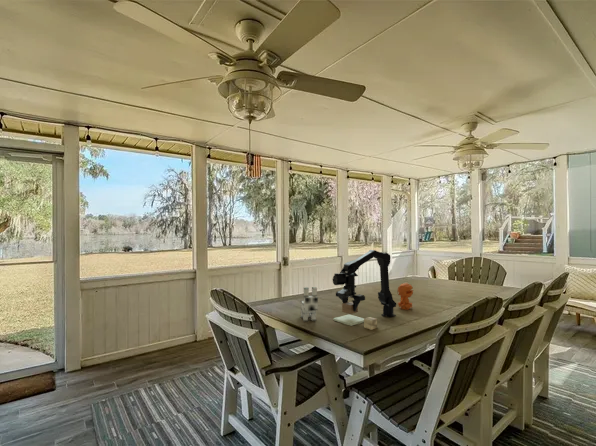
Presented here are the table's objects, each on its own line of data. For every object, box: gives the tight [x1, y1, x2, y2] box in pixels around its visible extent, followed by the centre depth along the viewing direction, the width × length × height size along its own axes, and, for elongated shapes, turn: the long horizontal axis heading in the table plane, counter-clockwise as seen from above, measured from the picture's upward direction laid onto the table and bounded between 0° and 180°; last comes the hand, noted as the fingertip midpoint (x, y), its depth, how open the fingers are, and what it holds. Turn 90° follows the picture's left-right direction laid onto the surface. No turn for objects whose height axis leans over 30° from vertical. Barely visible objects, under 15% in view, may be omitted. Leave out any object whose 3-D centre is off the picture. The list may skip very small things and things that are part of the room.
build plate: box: [332, 313, 365, 326], centre depth 186 cm, size 14×14×1 cm
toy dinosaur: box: [396, 282, 414, 311], centre depth 214 cm, size 11×11×18 cm
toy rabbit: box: [300, 286, 319, 322], centre depth 190 cm, size 8×18×20 cm, turn 10°
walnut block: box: [341, 301, 359, 315], centre depth 186 cm, size 6×6×5 cm
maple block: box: [363, 316, 378, 331], centre depth 173 cm, size 5×5×5 cm
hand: (350, 310), depth 186 cm, fingers closed on walnut block, 6 cm apart
